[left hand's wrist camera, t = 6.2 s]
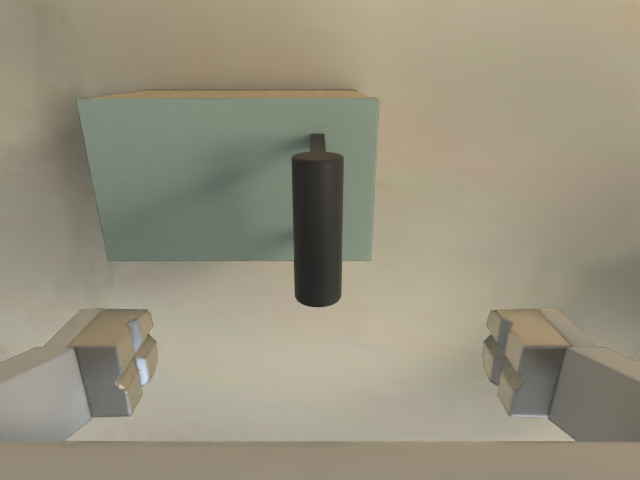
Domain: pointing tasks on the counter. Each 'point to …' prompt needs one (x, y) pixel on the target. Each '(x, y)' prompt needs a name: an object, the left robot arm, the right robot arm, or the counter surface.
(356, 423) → the counter surface
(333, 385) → the counter surface
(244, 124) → the lid
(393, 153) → the counter surface
